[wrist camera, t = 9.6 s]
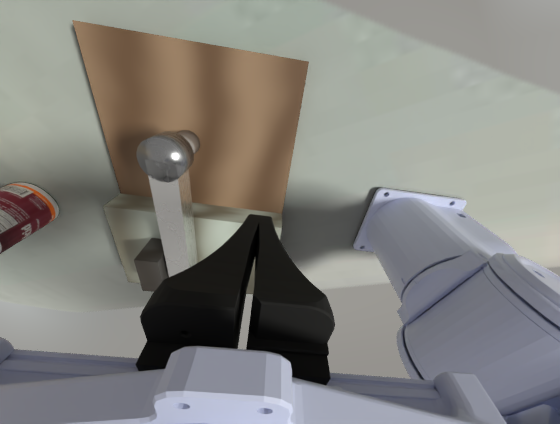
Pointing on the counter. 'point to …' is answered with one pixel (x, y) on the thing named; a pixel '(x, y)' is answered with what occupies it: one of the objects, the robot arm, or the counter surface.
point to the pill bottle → (23, 212)
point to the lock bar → (171, 196)
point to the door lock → (192, 134)
